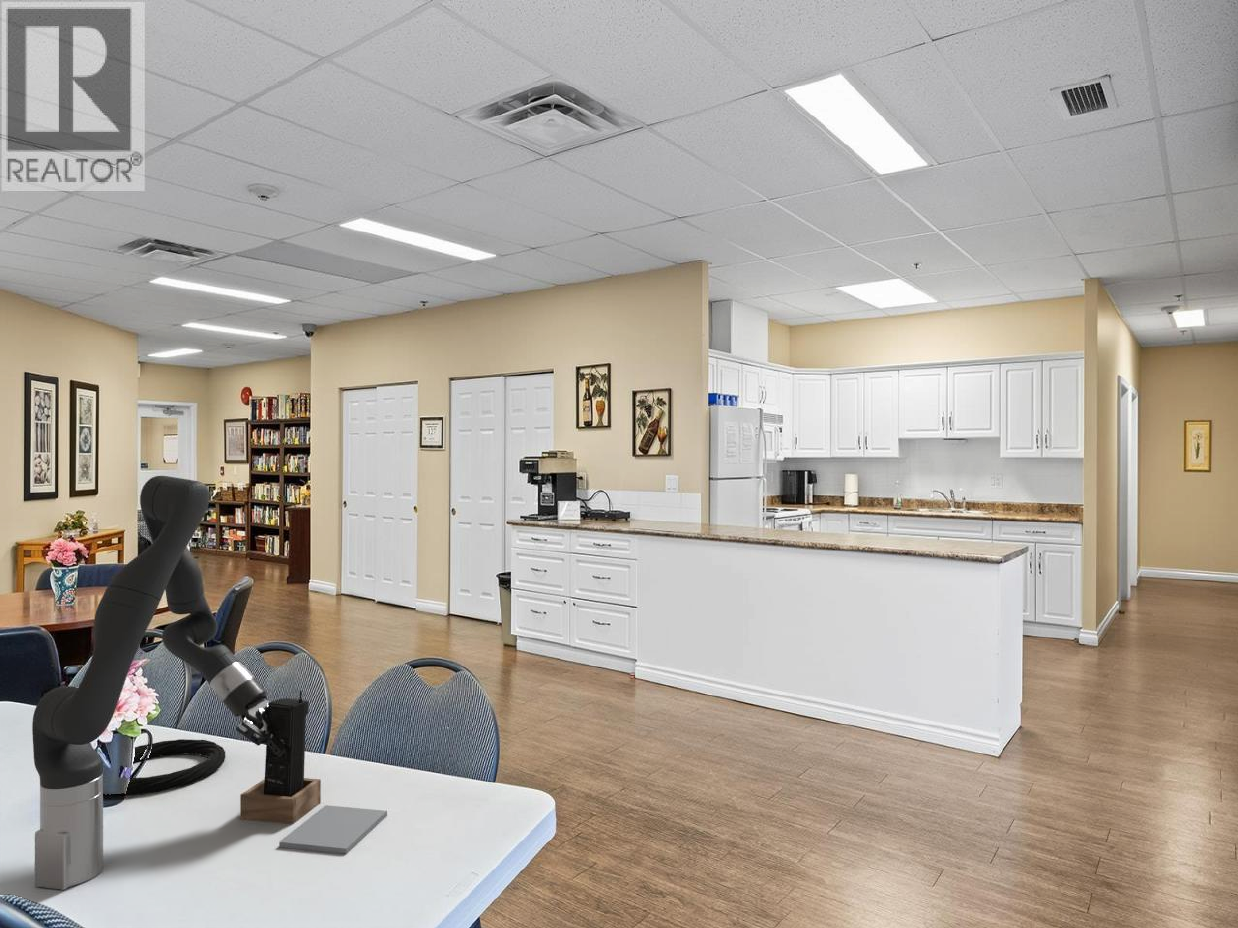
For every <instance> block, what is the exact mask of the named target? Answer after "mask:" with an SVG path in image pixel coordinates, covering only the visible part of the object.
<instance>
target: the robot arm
mask: <svg viewBox="0 0 1238 928" xmlns="http://www.w3.org/2000/svg"><path fill="white" fill-rule="evenodd" d="M209 503H210V490H209V488H208V486H207V485H206V484H205V483H203V482H202V481H201V482H200V481H199V480H193V479H188V478H181V477H180V478H179V477H175V476H174V477H173V476H169V475H168V476H167V475H156V476H153V477H151V478H149V479H148V480H147V481H146V482H145V483H144V485H143V487H142V489H141V492H140V495H139V504H140V509H141V514H142V517H143V519H144V522H145V525H146V528H147V531H148V533H149V534H148V535H149V537H150V540H151V544H150V546H148V547H147V548H145V550H143V551H142V552H141V553H140V554H138V555H136V556H135V558H133V559H131V561H129V562H127V564H125V565H124V566H123V567H121V568H120V569H119V570H118V571H117V572H116V573H115V574H114V575H113V576H112V578H111V579H110V581H109V583H108V585H107V587H106V589H105V591H104V592H103V595H102V597H101V599H100V601H99V603H98V605H97V608H96V611H95V613H94V620H93V648H92V649H93V650H92V656H91V659H90V662H89V665H88V667H87V669H86V671H85V673H84V676H83V677H82V680H81V682H80V683H79V686H78V687H77V686H70V685H64V686H58V687H55V688H53V689H51V690H49V691H47V692H46V693H45V694H44V695H43V696H42V697H41V698H40V700H39V701H38V703H37V704H36V706H35V709H34V711H33V716H32V721H31V722H32V724H31V731H32V749H33V751H32V752H33V762H34V767H35V770H36V771H37V773H38V776H39V829H38V830H36V831H35V832H34V887H37V888H47V889H55V890H63V891H64V890H67V889H68V888H70V887H73V886H75V885H79V884H82V883H85V882H88V881H89V880H92V879H93V878H95V877H96V876H98V875H99V874H101V872H102V871H103V869H104V795H103V761H104V760H103V758H102V756H101V755H100V753H98V752H97V751H96V750H95V748H94V747H93V746H92V742H94V741H96V740H97V739H98V738H99V737H100V736H101V735H103V734H104V732H105V731H106V730H107V728H108V726H109V725H110V723H111V721H112V718H113V716H114V714H115V712H116V708H117V706H118V704H119V700H120V697H121V694H122V691H123V690H124V689H123V688H124V685H125V682H126V680H127V677H128V674H129V672H130V669H131V666H132V664H133V662H134V660H135V656H136V655H137V652H138V650H139V648H140V645H141V644H142V640H143V639H144V636H145V634H146V631H147V630H148V628H149V626H150V624H151V622H152V619H153V618H154V615H155V613H156V611H157V609H158V607H159V604H160V603H161V600H162V598H163V595H164V593H165V597H166V603H167V608H168V609H169V610H168V611H170V612H171V613H173V614H175V615H186V616H184V617H181V618H180V619H178V620H175V621H174V622H172V623H170V624H168V625H167V626H166V627H165V628H164V629H163V631H162V635H161V640H162V644H163V645H164V647H165V648H166V649H167V651H169V653H171V654H172V655H174V656H175V657H177V659H179V660H181V661H183V662H184V663H186V664H188V665H189V666H190V667H192V668H193V669H195V670H196V671H197V672H199V674H200V675H201V676H202V677H203V678H204V679H205V681H206V683H208V684H209V686H210V687H211V688H212V690H213V692H214V694H215V695H216V696H217V697H218V699H220V701H221V702H222V703H223V704H224V706H225V707H226V708H227V709H228V710H229V711H230V712H231V714H232V715H233V716H234V717H235V718H240V720H241V722H240V723H239V724H238V725H237V726H236V727H235V729H236V731H237V732H238V733H240V734H241V735H242V736H244V737H245V738H246V739H248V740H249V741H250V742H252V743H253V744H255V746H261V745H262V744H263V745H265V746H266V745H268V746H269V747H270V749H271V750H272V751H273V752H274V753H275V754H276V755H277V756H278V757H281V756H282V755H283V754H284V753H285V752H286V751H287V748H286V747H285V746H284V744H283V743H282V742H281V741H280V740H279V739H278V737H277V736H276V737H275V734H274V732H273V731H272V729H271V726H272V725H271V723H270V721H269V719H268V703H269V702H271V701H270V700H269V699H267V695H268V692H267V690H266V689H265V688H264V686H263V685H262V684H261V683H260V682H259V681H258V680H257V678H256V677H255V676H254V675H253V674H252V673H251V672H250V670H249V669H248V668H247V667H246V666H245V665H243V664H242V663H241V662H240V660H239V659H238V658H237V657H236V655H234V653H233V652H232V651H231V650H230V649H229V648H228V646H226V645H224V644H217V645H213V646H209V647H204V646H202V645H204V644H206V643H207V642H210V641H211V640H212V639H214V637H215V636H216V635H217V631H218V622H217V620H216V617H215V616H214V614H213V612H212V610H211V608H210V605H209V604H208V601H207V599H206V597H205V588H204V579H203V575H202V571H201V568H200V565H199V564H198V562H197V560H196V559H195V557H194V555H193V554H192V553H191V551H190V550H189V549H188V545H189V543H190V541H191V539H192V538H193V536H194V534H195V533H196V531H197V530H198V528H199V526H200V524H201V523H202V521H203V519H204V516H205V514H206V513H207V510H208V506H209V505H210V504H209ZM255 735H256V736H255Z"/></svg>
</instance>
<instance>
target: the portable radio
mask: <svg viewBox="0 0 1238 928" xmlns="http://www.w3.org/2000/svg"><path fill="white" fill-rule="evenodd" d="M302 692H303V690H299V698H298V699H296V698H289V697H285V698H284V697H283V698H278V699H276V700H272V701H270V702H269V703H268V719H269V721H270V723H271V725H272V726H271V729H272V731H273V732H274V734H275V737H276V736H277V737H278V739H279V740H280V741H281V742H282V743H283V744H284V746H285V747H286V748H287V751H286V752H285V753H284V754H283V755H282V756H281V757H278V756H277V755H276V754H275V753H274V752H273V751H272V750H271V749H270V747H269V746H268V745H265V764H264V770H265V771H264V779H265V781H264V794H265V795H276V796H287V797H292V796H294V795H295V794H296V793H298V792H299V791H301V790H302V789H303V788H304V778H305V755H306V754H305V753H306V726H307V725H306V723H307V722H306V721H307V720H306V719H307V715H308V714H309V706H310V703H309V700H306V699H305V700H303V698H302V696H303V695H302Z"/></svg>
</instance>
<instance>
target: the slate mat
mask: <svg viewBox="0 0 1238 928" xmlns="http://www.w3.org/2000/svg"><path fill="white" fill-rule="evenodd" d="M387 816H388V810H384V809H383V810H381V809H380V810H379V809H371V808H370V809H368V808H362V807H359V808H358V807H348V806H339V805H330V804H329V805H328V804H327V805H323V806H322V808H320V809H319V810H318V811H316V812H315V813H314V814H312V816H311V815H310V817H309V818H307V819H305V821H303V822H302V823H301V824H300V825H299V826H297V827H296V828H295V829H293V830H292V831H291V832H290V833H288V834H287V835H286V836H285V837H283V838H282V839H280V840H279V846H278V847H279V848H285V849H294V850H298V849H299V850H304V851H305V850H306V851H315V852H325V853H335V854H344V855H345V854H346V855H347V854H349V852H350V851H352V850H353V849H354V848H355V847H356V846H357V845H358V844H360V842H361V841H362V840H363V839H364V838H366V836H367V835H369V833H371V832H372V831H373V830H374V829H375V828H376V827H377V826H378V825H379V824H380V823H381V822H382V821H384V819H385V818H387Z"/></svg>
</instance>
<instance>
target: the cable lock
mask: <svg viewBox="0 0 1238 928" xmlns="http://www.w3.org/2000/svg"><path fill="white" fill-rule="evenodd" d="M148 744H149V743H148ZM148 744H142V745H138V746H135V747H134V748H135V757H134V763H135V762H136V761H137V762H139V761H138V760H140V758H141V757H142V756H143V754H144V752H145V750H146V749H147V746H148ZM151 744H152V749H151V753H150V755H149V759H152V758H156V756H157V757H161V756H160V755H166V756H171V755H178V754H177V753H190V754H189V755H193V754H194V755H199V754H201V755H200V756H202V755H204V756H203V757H207V756H208V758H207V759H206V760H203V761H201V762H199V763H197V764H196V765H193V766H191V767H188V768H184V769H181V770H180V769H179V770H177V771H174V772H171V773H165V774H160V775H152V776H147V777H131V778H132V779H131V780H130V782H129V784H128V787H127V791H126V794H125V795H128V796H129V795H132V796H134V795H136V796H137V795H145V794H150V793H161V792H165V791H168V790H172V789H176V788H182V787H186V786H188V785H191V784H194V783H196V782H197V781H200V779H201V780H202V778H203V779H205V778H207V777H209V776H211V775H212V774H214V773H215V772H216V771H218V770H219V769H220V768H221V767H222V765H223V764H224V763H225V761H226V750H225V748H223V746H221V745H219V744H218V743H216V742H213V741H210V740H206V739H174V740H162V741H158V742H154V743H151ZM191 753H193V754H191ZM196 753H197V754H196ZM137 762H136V763H137ZM218 768H219V769H218Z"/></svg>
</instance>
